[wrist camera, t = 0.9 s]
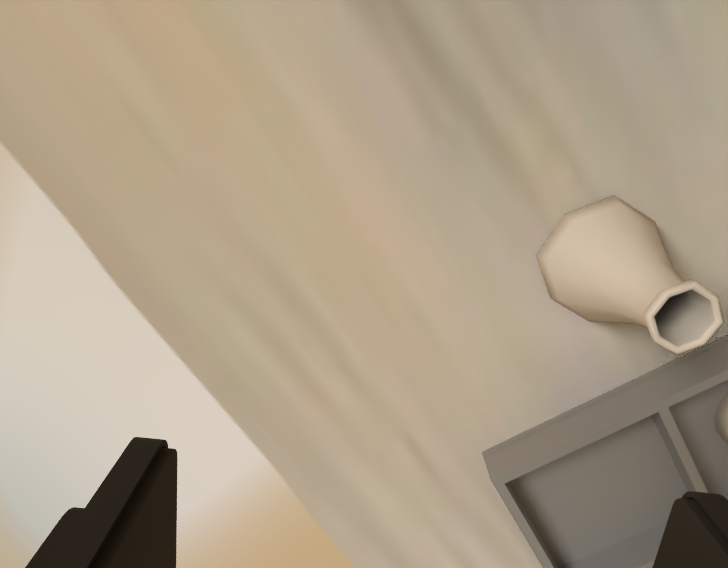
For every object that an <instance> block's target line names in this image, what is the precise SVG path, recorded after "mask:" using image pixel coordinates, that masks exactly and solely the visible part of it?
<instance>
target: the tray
mask: <svg viewBox="0 0 728 568" xmlns="http://www.w3.org/2000/svg"><path fill="white" fill-rule="evenodd" d="M727 393H728V335H727V336H724V337H722V338H720V339H718V340H716V341H714V342H712V343H710V344H708V345H706V346H703V347H701V348H699V349H697V350H695V351H693V352H691V353H689V354H687V355H685V356H683V357H680V358H678V359H676V360H674V361H672V362H670V363H668V364H666V365H664V366H662V367H660V368H657V369H655V370H653V371H651V372H649V373H647V374H645V375H643V376H641V377H639V378H637V379H634V380H632V381H630V382H628V383H626V384H624V385H622V386H620V387H618V388H616V389H614V390H611V391H609V392H607V393H605V394H603V395H601V396H599V397H597V398H595V399H593V400H591V401H588V402H586V403H584V404H582V405H580V406H578V407H576V408H574V409H572V410H570V411H568V412H565V413H563V414H561V415H559V416H557V417H555V418H553V419H551V420H549V421H547V422H544V423H542V424H540V425H538V426H536V427H534V428H532V429H530V430H528V431H526V432H524V433H521V434H519V435H517V436H515V437H513V438H511V439H509V440H507V441H505V442H503V443H501V444H498V445H496V446H494V447H492V448H490V449H488V450H486V451H484V452H482V454H483V457H484V460H485V463H486V466H487V469H488V472H489V475H490V478H491V481H492V483H493V484H494V486H495V488H496V489H497V491H498V493H499V494H500V496H501V498H502V499H503V501H504V503H505V505H506V506H507V508H508V510H509V511H510V513H511V515H512V516H513V518H514V520H515V521H516V523H517V525H518V526H519V528H520V530H521V531H522V533H523V535H524V536H525V538H526V540H527V542H528V543H529V545H530V547H531V548H532V550H533V552H534V553H535V555H536V557H537V558H538V560H539V562H540V563H541V565H542V567H543V568H652V567H653V564H654V561H655V558H656V555H657V552H658V549H659V546H660V543H661V540H662V536H663V533H664V530H665V527H666V524H667V521H668V518H669V515H670V512H671V509H672V506H673V503H674V501H675V500H676V499H678V498H682V496H683V495H684V494H685V493H686V492H689V491H694V492H704V493H714V494H720V495H723V496H724V497H725V498H726V499H727V500H728V444H727V443H726V442H725V441H724V440H723V439H722V438H721V437H720V436H719V435H718V433H717V431H716V428H715V423H714V418H715V412H716V409H717V407H718V405H719V403H720V401H721V400H722V399H723V398H724V396H725V395H726V394H727Z"/></svg>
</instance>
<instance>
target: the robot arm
mask: <svg viewBox="0 0 728 568" xmlns="http://www.w3.org/2000/svg"><path fill="white" fill-rule="evenodd" d="M176 513H177V451H176V450H175V449H169V448H168V444H167V442H166V440H160V439H150V438H140V437H135V438H133V439H132V440H131V442H130V443H129V444H128V446H127V447H126V449H125V450H124V452H123V453H122V455H121V456H120V458H119V459H118V461H117V462H116V464H115V465H114V467H113V468H112V470H111V471H110V472H109V474H108V475H107V477H106V478H105V480H104V481H103V482H102V484H101V485H100V487H99V488H98V490H97V491H96V493H95V494H94V496H93V497H92V499H91V500H90V502H89V503H88V504H87V506H86V507H85V508H71V509H69V510H68V511H67V512H66V513H65V514H64V515H63V516H62V518H61V519H60V520H59V522H58V523H57V525H56V526H55V527H54V529H53V530H52V532H51V533H50V534H49V536H48V537H47V538H46V540H45V541H44V543H43V544H42V545H41V547H40V548H39V549H38V551H37V552H36V554H35V555H34V556H33V558H32V559H31V560H30V562H29V563H28V565H27V566H26V567H25V568H176V520H177V514H176ZM652 568H728V500H727V499H726V498H725V497H724V496H723V495H720V494H714V493H704V492H694V491H689V492H686V493H685V494H684V495H683V496H682V498H678V499H676V500H675V501H674V503H673V506H672V509H671V512H670V515H669V518H668V521H667V524H666V527H665V530H664V533H663V536H662V540H661V543H660V546H659V549H658V552H657V555H656V558H655V561H654V564H653V567H652Z"/></svg>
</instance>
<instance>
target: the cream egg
mask: <svg viewBox="0 0 728 568" xmlns="http://www.w3.org/2000/svg"><path fill="white" fill-rule="evenodd" d="M714 423H715V428H716V431H717V433H718V435H719V436H720V437H721V438H722V439H723V440H724V441H725V442H726V443H727V444H728V393H727V394H726V395H725V396H724V398H723V399H722V400H721V401H720V403H719V405H718V407H717V409H716V412H715V418H714Z"/></svg>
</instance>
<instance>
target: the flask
mask: <svg viewBox="0 0 728 568" xmlns="http://www.w3.org/2000/svg"><path fill="white" fill-rule="evenodd" d="M536 256H537V259H538V262H539V265H540V268H541V271H542V274H543V277H544V280H545V283H546V286H547V289H548V292H549V295H550V298H551V299H553V300H554V301H556V302H558V303H559V304H561V305H563V306H564V307H566V308H568V309H569V310H571V311H573V312H575V313H576V314H578V315H580V316H581V317H583V318H585V319H586V320H588V321H598V322H622V323H633V324H639V325H642V326H644V327H647V328H648V331H649V334H650V337H651V339H652V340H653V341H654V342H656V343H658V344H659V345H661V346H662V347H664V348H666V349H667V350H669V351H671V352H672V353H674V354H676V355H678V354H681V353H684V352H687V351H690V350H693V349H695V348H698V347H701V346H704V345H706V343H707V342H708V341H709V340H710V339H711V337H712V336H713V335H714V334H715V333H716V331H717V330H718V329H719V328H720V327H721V326H722V324H723V323H724V318H723V314H722V310H721V306H720V302H719V298H718V296H717V295H715V294H714V293H712V292H711V291H709V290H707V289H706V288H704V287H703V286H701V285H699V284H698V283H696V282H695V281H693V280H688V281H685V282H684V281H683V280H682V279H681V278H680V277H679V275H678V274H677V273H676V272H675V271H674V269H673V267H672V265H671V262H670V260H669V258H668V256H667V254H666V251H665V249H664V247H663V244H662V242H661V239H660V236H659V233H658V230H657V228H656V225H655V223H654V221H653V220H652V219H650V218H649V217H647V216H645V215H644V214H642V213H641V212H639V211H638V210H636V209H635V208H633V207H631V206H630V205H628V204H627V203H625V202H624V201H622V200H621V199H619V198H618V197H616V196H614V195H613V196H611V197H608V198H606V199H603V200H600V201H598V202H595V203H593V204H590V205H588V206H585V207H582V208H580V209H577V210H575V211H572V212H570V213H567V214H565V215H564V217H563V218H562V220H561V221H560V222H559V224H558V225H557V227H556V228H555V230H554V231H553V232H552V234H551V235H550V237H549V238H548V239H547V241H546V242H545V244H544V245H543V247H542V248H541V249H540V251H539V252H538V254H537V255H536Z"/></svg>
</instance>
